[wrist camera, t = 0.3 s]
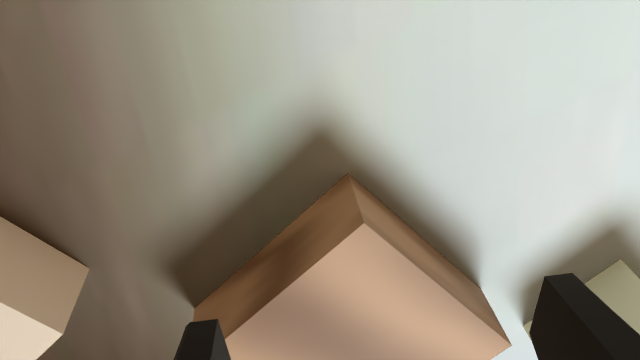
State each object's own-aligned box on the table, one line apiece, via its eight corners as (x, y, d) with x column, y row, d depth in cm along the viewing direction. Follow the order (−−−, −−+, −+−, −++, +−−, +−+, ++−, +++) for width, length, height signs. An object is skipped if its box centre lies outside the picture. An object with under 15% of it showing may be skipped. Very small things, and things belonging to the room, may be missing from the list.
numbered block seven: (575, 370, 31) (617, 435, 27) (521, 323, 28) (560, 389, 25) (666, 311, 29) (725, 373, 25) (618, 256, 26) (676, 316, 23)
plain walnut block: (336, 387, 29) (347, 455, 26) (195, 303, 25) (186, 371, 22) (478, 284, 27) (511, 345, 23) (346, 168, 22) (364, 222, 19)
